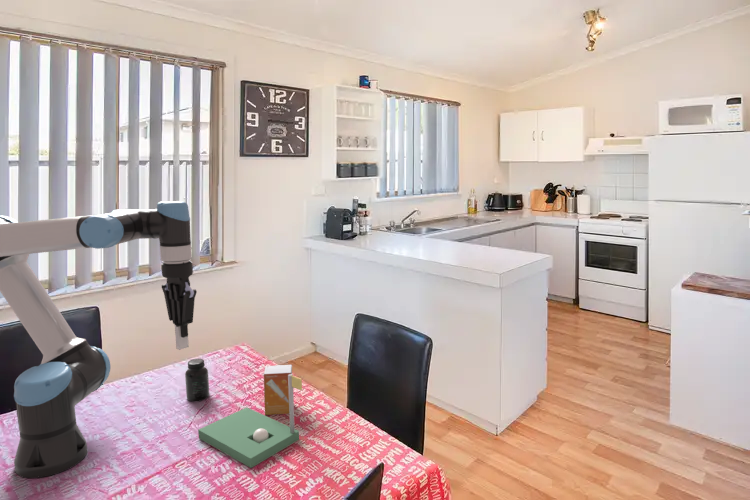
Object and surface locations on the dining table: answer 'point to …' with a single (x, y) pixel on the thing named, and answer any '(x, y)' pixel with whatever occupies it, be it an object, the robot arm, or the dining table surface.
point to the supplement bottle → (197, 380)
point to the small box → (276, 389)
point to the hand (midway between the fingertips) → (182, 347)
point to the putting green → (252, 432)
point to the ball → (260, 435)
